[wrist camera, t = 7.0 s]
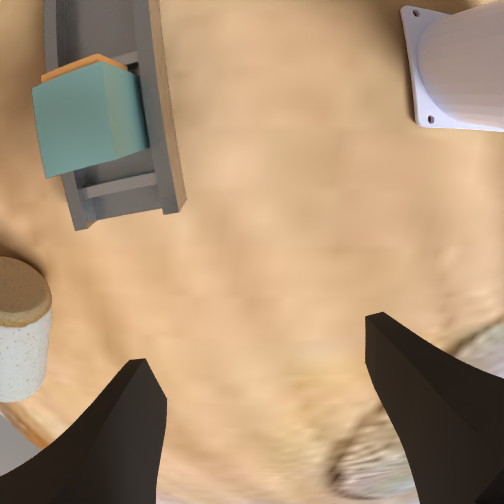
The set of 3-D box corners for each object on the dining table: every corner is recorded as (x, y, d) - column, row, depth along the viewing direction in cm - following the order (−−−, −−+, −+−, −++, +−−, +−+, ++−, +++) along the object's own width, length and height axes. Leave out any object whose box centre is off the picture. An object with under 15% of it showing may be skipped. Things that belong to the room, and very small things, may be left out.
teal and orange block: (137, 67, 14) (100, 49, 9) (149, 147, 16) (116, 159, 11) (80, 84, 14) (30, 77, 9) (92, 161, 16) (45, 178, 11)
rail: (152, -103, 10) (144, -123, 7) (186, 199, 18) (179, 212, 16) (70, -75, 10) (54, -90, 7) (93, 216, 18) (75, 231, 16)
